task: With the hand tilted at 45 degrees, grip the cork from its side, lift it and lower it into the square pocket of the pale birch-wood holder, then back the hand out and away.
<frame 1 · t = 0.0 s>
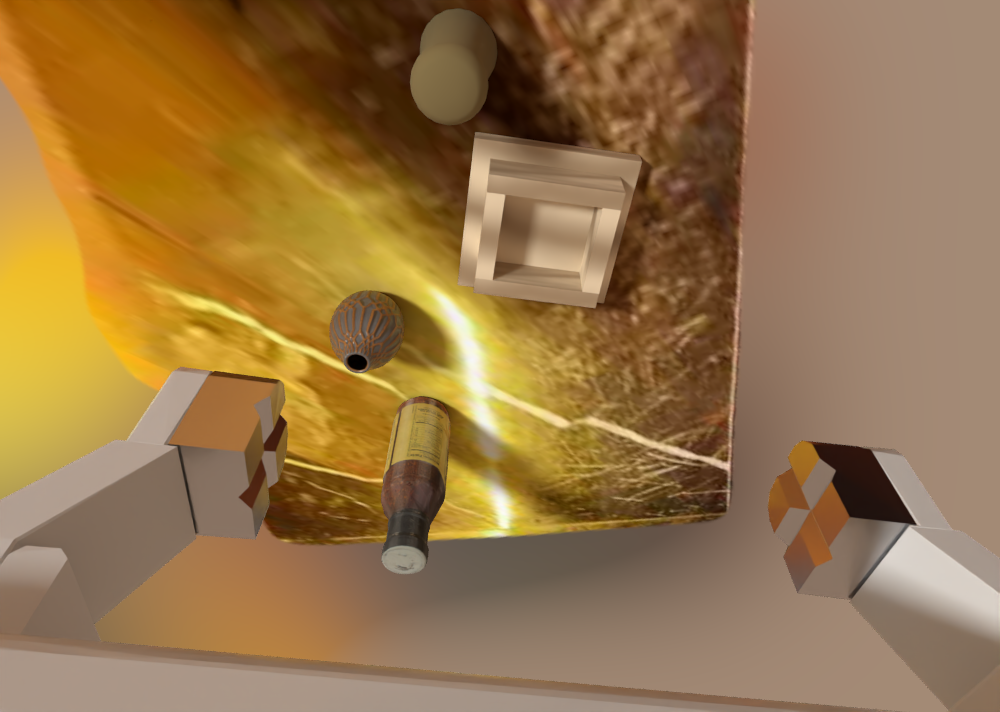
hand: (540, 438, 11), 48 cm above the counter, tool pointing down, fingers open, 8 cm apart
vase: (374, 308, 67), on the counter
sauce bottle: (425, 412, 75), on the counter
cork: (458, 51, 52), on the counter
shaker holder: (543, 219, 60), on the counter
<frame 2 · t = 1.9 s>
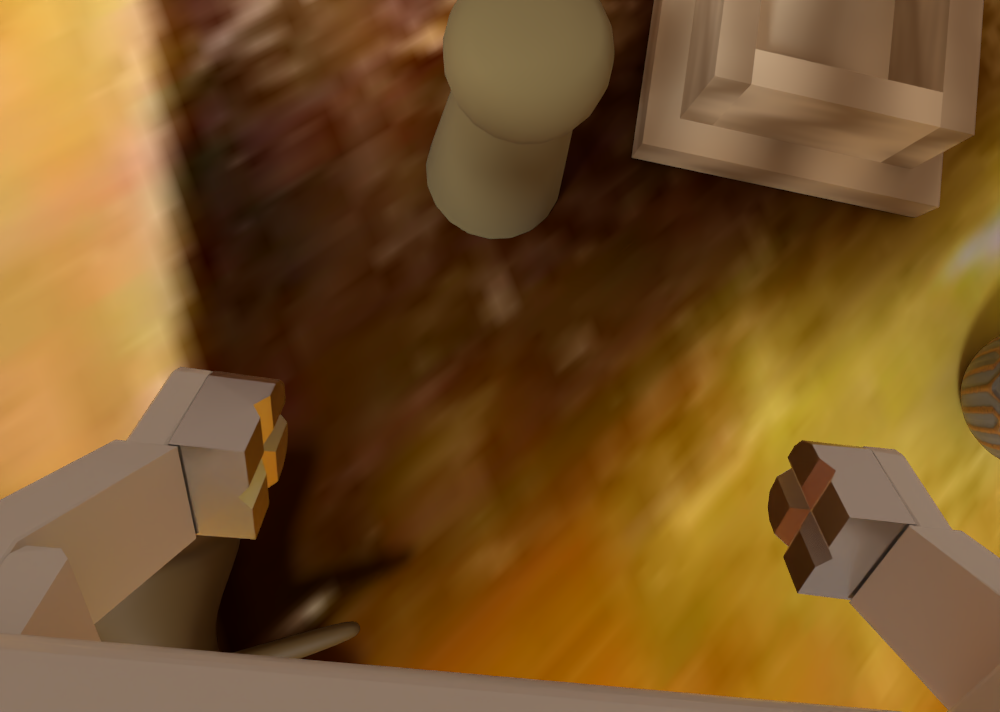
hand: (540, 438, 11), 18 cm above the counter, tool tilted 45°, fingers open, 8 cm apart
vase: (996, 402, 31), on the counter
kendama: (111, 686, 26), on the counter
cork: (494, 174, 30), on the counter
shaker holder: (791, 50, 32), on the counter
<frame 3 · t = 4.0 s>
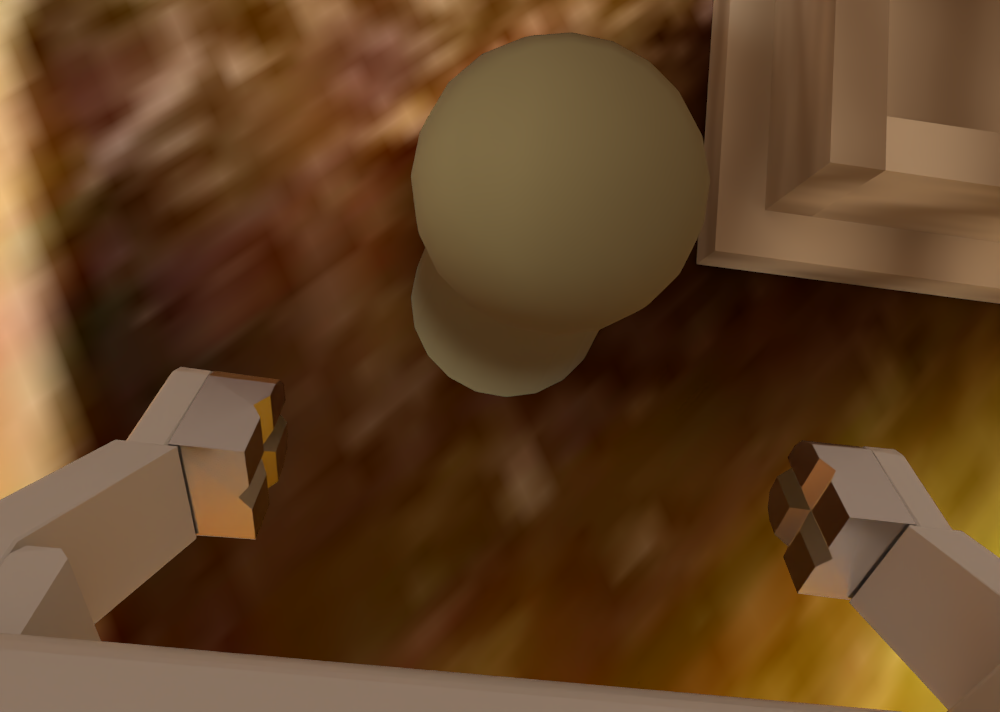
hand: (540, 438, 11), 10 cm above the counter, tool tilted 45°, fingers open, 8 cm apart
cork: (506, 302, 21), on the counter
shaker holder: (903, 95, 23), on the counter
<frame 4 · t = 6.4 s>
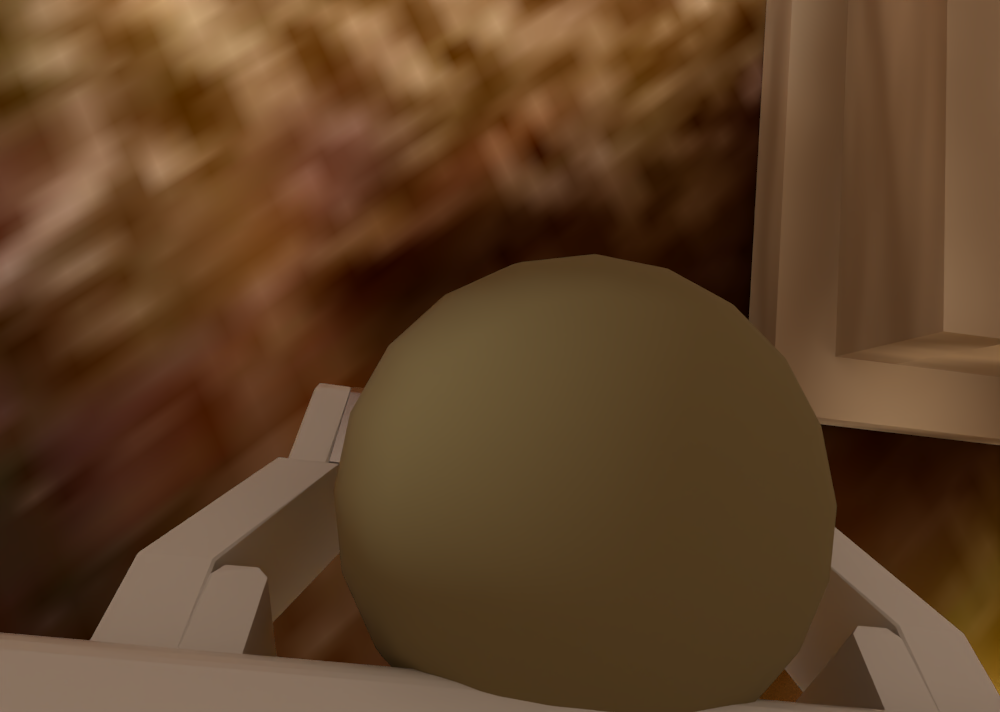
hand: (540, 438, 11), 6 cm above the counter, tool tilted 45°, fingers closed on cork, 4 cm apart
cork: (502, 468, 17), on the counter, touching gripper
shaker holder: (999, 193, 19), on the counter
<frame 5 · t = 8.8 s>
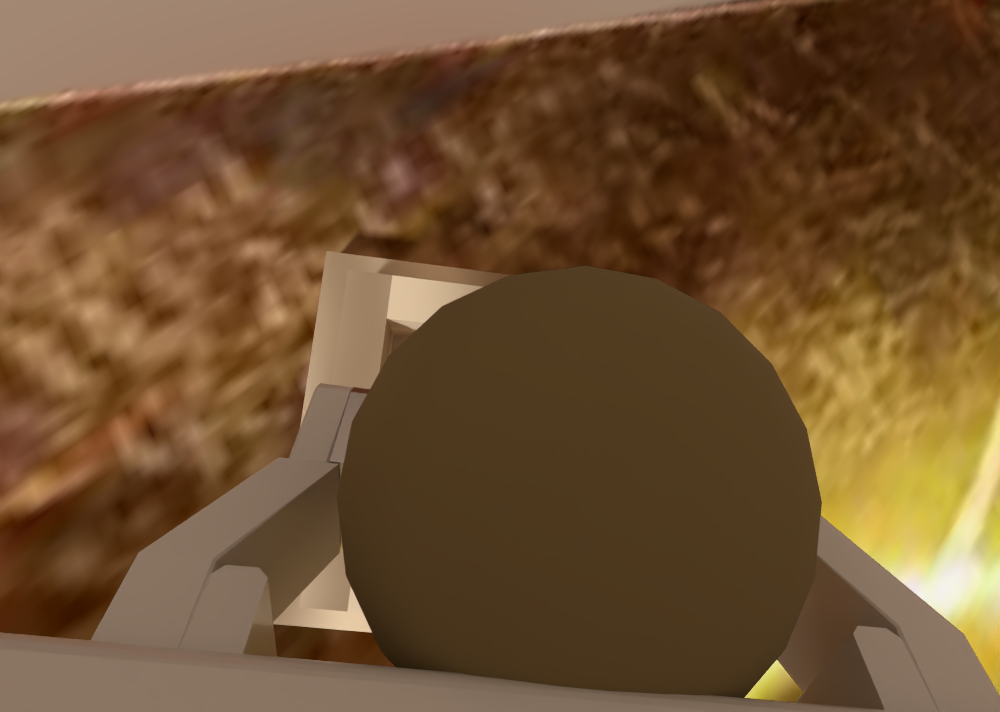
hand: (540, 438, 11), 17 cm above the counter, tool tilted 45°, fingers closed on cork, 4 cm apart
cork: (501, 470, 17), point 10 cm above the counter, touching gripper
shaker holder: (481, 449, 27), on the counter
when the fingers open (9 cm above the counter, at t = 11.4 s): cork drops 1 cm, resting on shaker holder.
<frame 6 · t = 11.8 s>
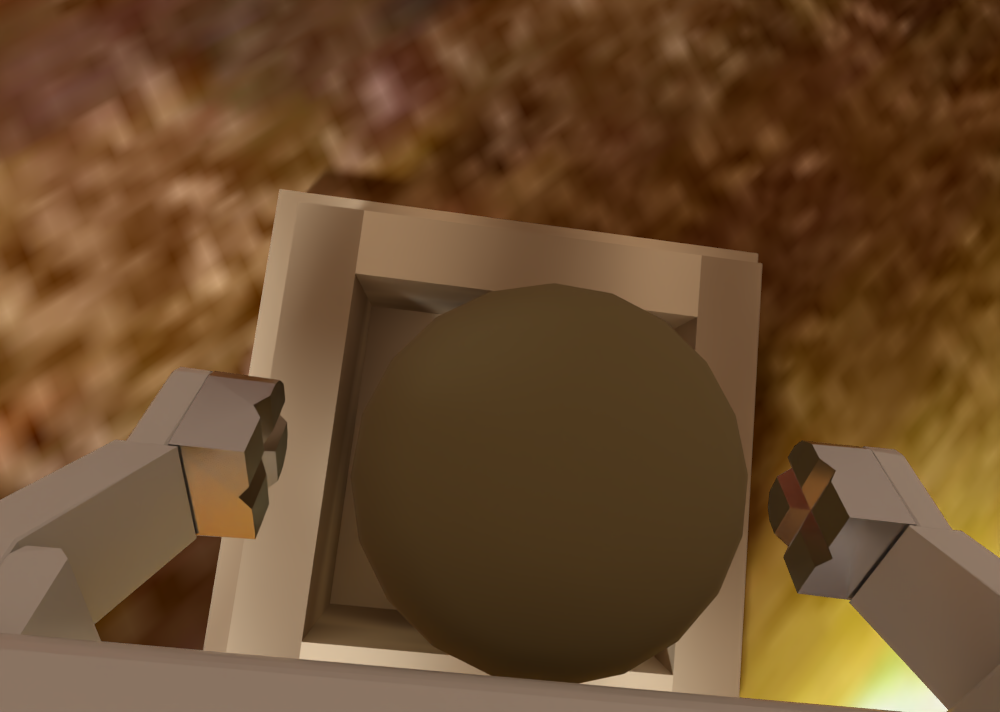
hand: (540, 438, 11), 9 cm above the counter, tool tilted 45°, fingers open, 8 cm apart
cork: (487, 463, 18), point 1 cm above the counter, touching shaker holder
shaker holder: (494, 464, 20), on the counter
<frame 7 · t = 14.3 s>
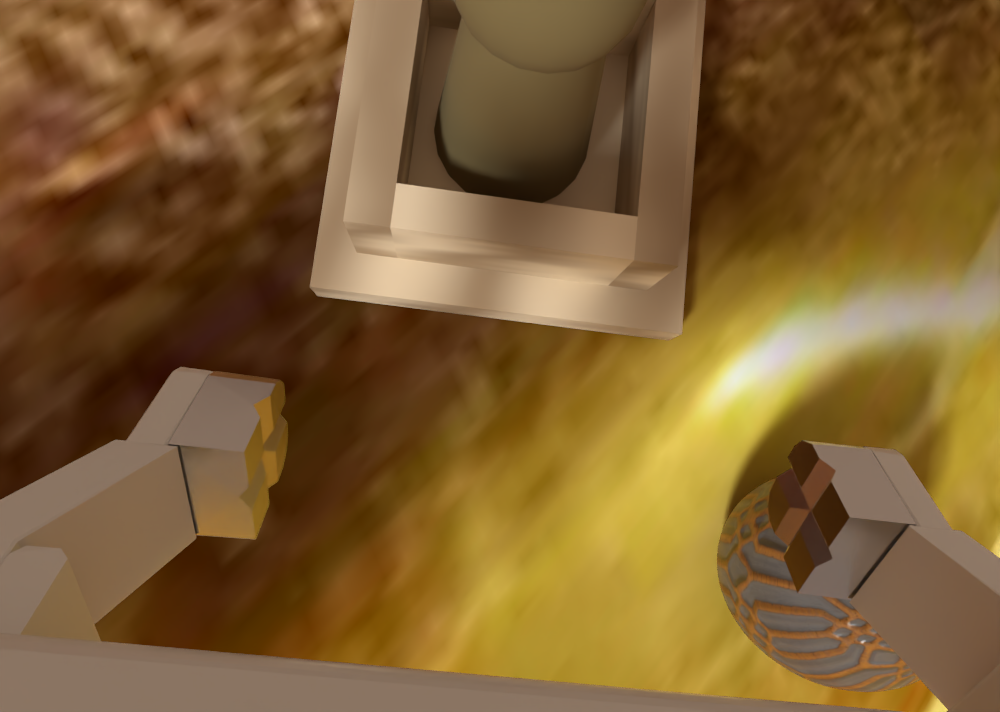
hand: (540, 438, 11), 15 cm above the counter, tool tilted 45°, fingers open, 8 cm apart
vase: (775, 556, 26), on the counter
cork: (511, 135, 26), point 1 cm above the counter, touching shaker holder
shaker holder: (515, 152, 27), on the counter
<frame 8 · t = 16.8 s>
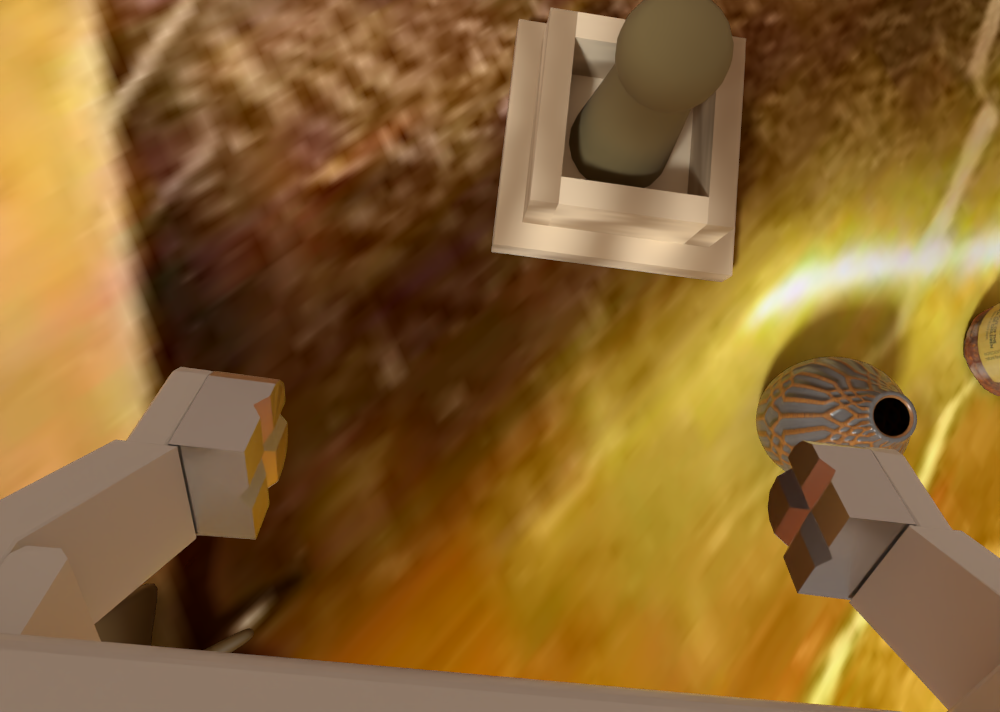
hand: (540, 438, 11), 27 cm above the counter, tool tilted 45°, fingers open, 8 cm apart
vase: (793, 423, 40), on the counter
sauce bottle: (998, 350, 41), on the counter
cork: (618, 146, 39), point 1 cm above the counter, touching shaker holder
shaker holder: (617, 156, 41), on the counter
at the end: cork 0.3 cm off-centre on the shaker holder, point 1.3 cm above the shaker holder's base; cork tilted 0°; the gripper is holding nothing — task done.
